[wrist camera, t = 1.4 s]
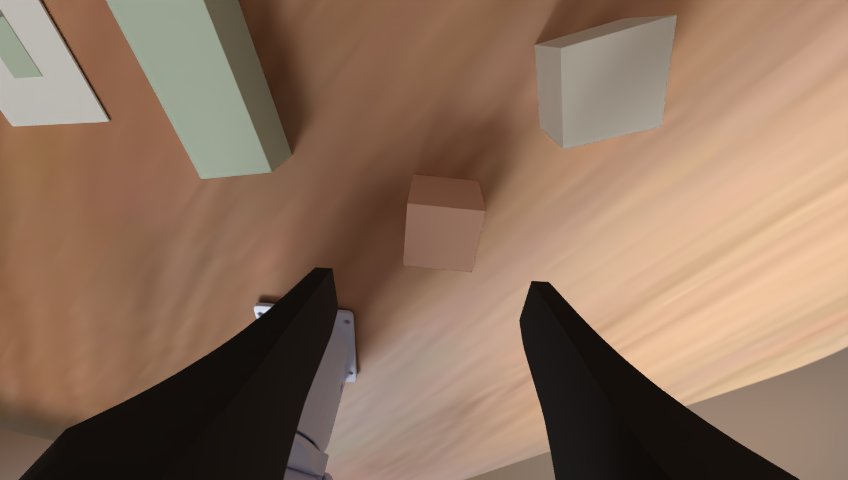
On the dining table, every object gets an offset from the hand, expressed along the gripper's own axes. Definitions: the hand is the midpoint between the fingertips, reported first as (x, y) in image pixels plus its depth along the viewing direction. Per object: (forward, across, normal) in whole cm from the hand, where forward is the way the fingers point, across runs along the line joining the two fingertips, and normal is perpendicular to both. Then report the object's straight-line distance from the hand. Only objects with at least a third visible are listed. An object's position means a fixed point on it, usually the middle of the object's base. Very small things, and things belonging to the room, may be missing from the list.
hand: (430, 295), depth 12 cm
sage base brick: (+10, +11, -5) cm, 16 cm away
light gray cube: (+10, -7, -6) cm, 14 cm away
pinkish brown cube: (+10, -1, +1) cm, 10 cm away
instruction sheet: (+10, +22, -7) cm, 25 cm away
